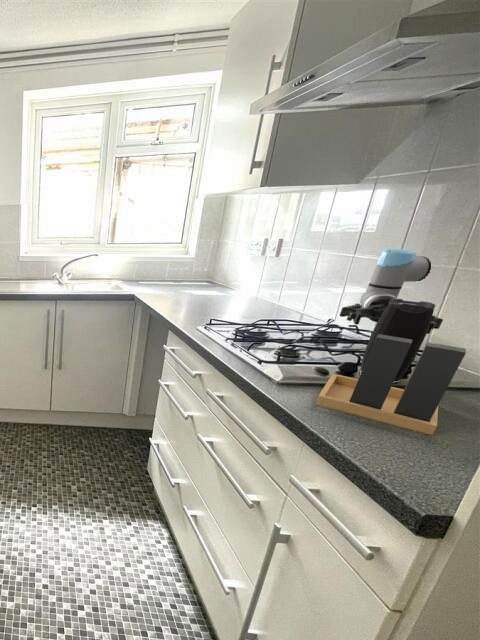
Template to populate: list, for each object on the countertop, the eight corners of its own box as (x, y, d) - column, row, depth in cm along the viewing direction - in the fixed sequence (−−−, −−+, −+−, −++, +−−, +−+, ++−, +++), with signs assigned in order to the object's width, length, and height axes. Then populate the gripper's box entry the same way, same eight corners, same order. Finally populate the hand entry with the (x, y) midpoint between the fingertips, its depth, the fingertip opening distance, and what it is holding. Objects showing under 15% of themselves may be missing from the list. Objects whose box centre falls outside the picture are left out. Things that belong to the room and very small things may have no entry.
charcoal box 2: (425, 424, 83) (465, 348, 76) (425, 429, 81) (466, 352, 74) (391, 415, 86) (427, 342, 80) (390, 420, 84) (426, 345, 78)
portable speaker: (388, 387, 101) (424, 308, 93) (346, 372, 109) (376, 298, 101) (412, 383, 103) (450, 305, 95) (369, 369, 111) (401, 296, 103)
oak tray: (432, 408, 91) (438, 397, 90) (430, 438, 79) (437, 426, 78) (328, 383, 103) (333, 373, 101) (314, 406, 91) (318, 395, 90)
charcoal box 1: (378, 412, 87) (412, 339, 81) (377, 417, 85) (411, 343, 79) (348, 404, 91) (378, 333, 84) (345, 408, 89) (376, 337, 82)
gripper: (435, 327, 118) (454, 347, 102) (324, 313, 131) (326, 329, 116) (448, 301, 115) (470, 317, 99) (333, 289, 128) (336, 302, 113)
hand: (392, 324), depth 108 cm, fingers open, 13 cm apart
